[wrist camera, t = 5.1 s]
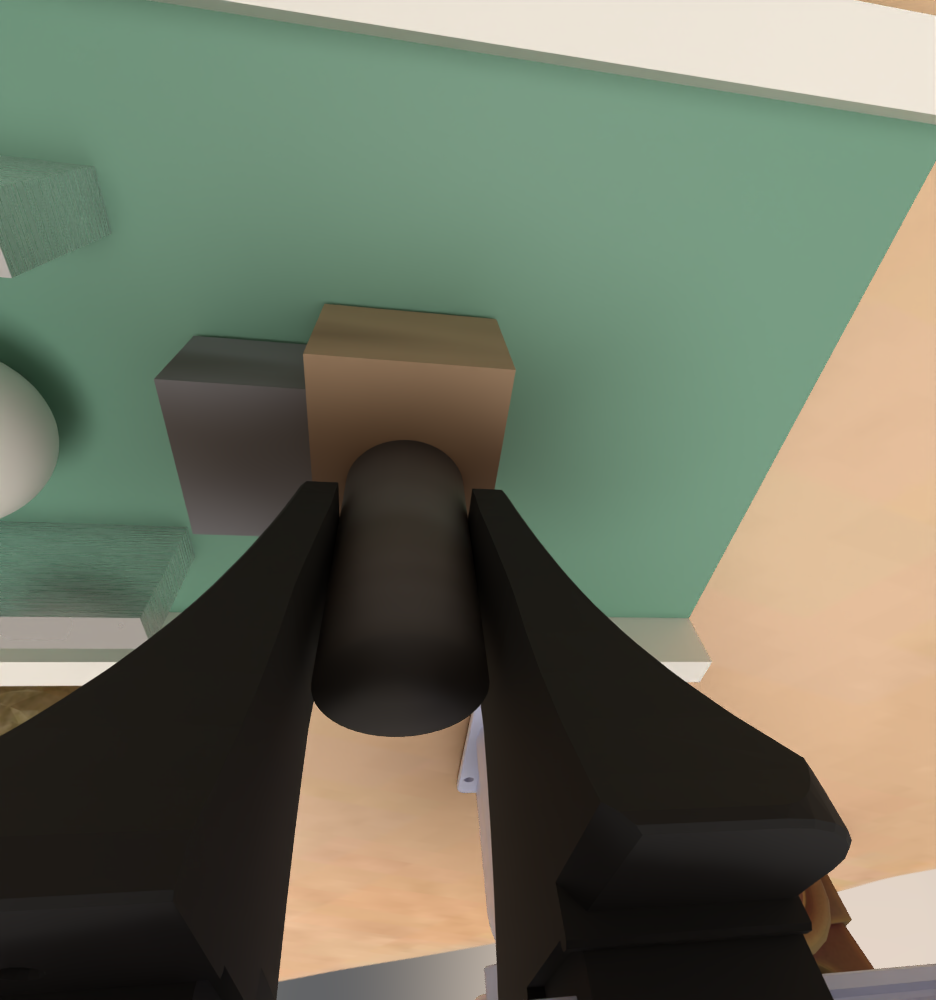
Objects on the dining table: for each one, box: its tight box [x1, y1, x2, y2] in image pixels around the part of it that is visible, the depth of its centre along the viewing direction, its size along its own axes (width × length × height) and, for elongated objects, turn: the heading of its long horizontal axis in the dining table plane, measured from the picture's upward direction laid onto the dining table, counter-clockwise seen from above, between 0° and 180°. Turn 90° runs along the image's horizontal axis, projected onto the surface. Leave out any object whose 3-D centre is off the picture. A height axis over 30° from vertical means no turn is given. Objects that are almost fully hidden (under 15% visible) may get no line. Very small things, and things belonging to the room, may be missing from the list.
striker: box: [154, 304, 516, 737], centre depth 11 cm, size 6×7×8 cm
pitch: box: [0, 0, 936, 686], centre depth 14 cm, size 18×26×3 cm
